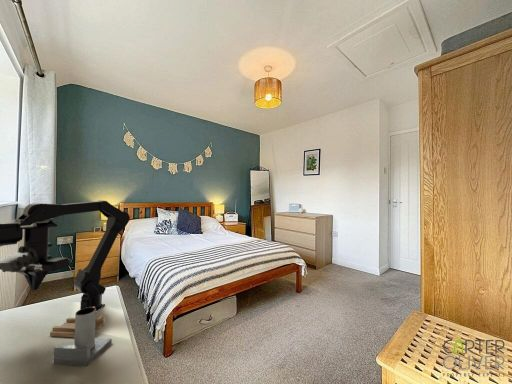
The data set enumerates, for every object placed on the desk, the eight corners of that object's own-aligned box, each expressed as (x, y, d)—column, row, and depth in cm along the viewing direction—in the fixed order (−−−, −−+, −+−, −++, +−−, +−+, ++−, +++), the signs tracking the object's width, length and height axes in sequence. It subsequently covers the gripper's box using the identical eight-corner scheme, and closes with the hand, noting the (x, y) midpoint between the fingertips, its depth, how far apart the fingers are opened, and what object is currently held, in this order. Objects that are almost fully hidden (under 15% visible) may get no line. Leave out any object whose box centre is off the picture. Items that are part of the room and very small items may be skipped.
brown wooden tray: (70, 323, 75) (70, 313, 75) (103, 324, 74) (104, 315, 74) (50, 336, 68) (50, 325, 68) (86, 337, 67) (87, 327, 67)
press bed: (82, 341, 66) (83, 327, 66) (111, 342, 65) (112, 328, 65) (53, 363, 57) (54, 347, 57) (86, 365, 56) (87, 349, 56)
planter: (87, 353, 59) (89, 314, 59) (69, 354, 58) (71, 315, 59) (98, 342, 63) (99, 306, 64) (81, 343, 63) (82, 307, 63)
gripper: (-24, 246, 63) (-26, 300, 63) (37, 248, 62) (35, 303, 62) (20, 239, 74) (18, 285, 74) (72, 240, 73) (70, 287, 73)
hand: (34, 290), depth 70 cm, fingers closed
